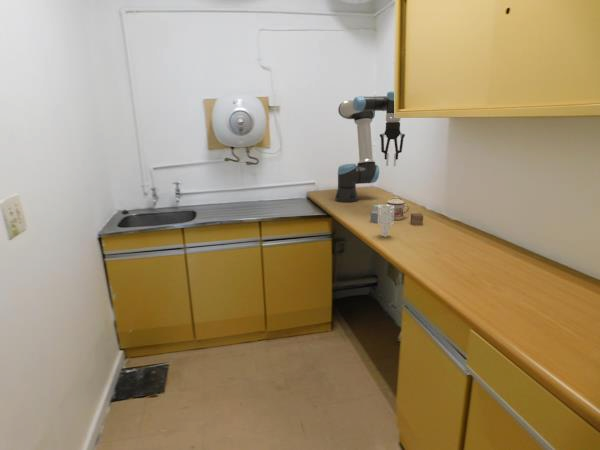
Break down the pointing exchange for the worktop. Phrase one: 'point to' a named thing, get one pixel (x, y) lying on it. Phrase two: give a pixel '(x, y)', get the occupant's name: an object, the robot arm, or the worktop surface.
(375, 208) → the sage block
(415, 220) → the walnut block
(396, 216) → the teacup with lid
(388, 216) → the pale grey tall piece
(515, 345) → the worktop surface
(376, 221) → the slate block
